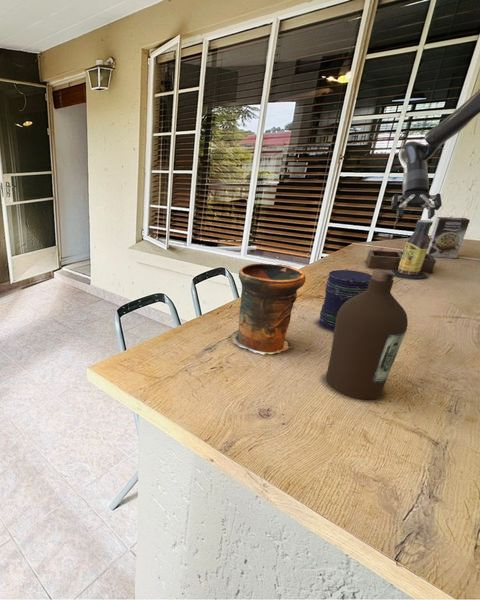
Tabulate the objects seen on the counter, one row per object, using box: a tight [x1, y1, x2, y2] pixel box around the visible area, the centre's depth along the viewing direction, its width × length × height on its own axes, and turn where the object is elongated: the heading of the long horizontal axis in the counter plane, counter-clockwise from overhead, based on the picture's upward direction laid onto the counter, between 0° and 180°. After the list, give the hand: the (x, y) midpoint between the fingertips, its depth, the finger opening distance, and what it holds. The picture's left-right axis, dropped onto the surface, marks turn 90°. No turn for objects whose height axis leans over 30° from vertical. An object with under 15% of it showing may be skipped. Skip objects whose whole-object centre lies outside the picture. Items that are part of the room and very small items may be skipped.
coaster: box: [390, 270, 428, 280], centre depth 131 cm, size 10×10×1 cm
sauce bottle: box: [398, 219, 434, 275], centre depth 128 cm, size 6×6×20 cm
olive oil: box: [325, 269, 409, 400], centre depth 68 cm, size 11×11×25 cm
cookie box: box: [426, 216, 471, 259], centre depth 148 cm, size 9×6×16 cm
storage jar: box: [318, 269, 372, 333], centre depth 95 cm, size 10×10×15 cm
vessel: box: [231, 262, 307, 356], centre depth 88 cm, size 14×14×20 cm
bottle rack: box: [366, 249, 437, 274], centre depth 140 cm, size 19×11×5 cm, turn 56°
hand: (415, 217), depth 134 cm, fingers open, 8 cm apart
